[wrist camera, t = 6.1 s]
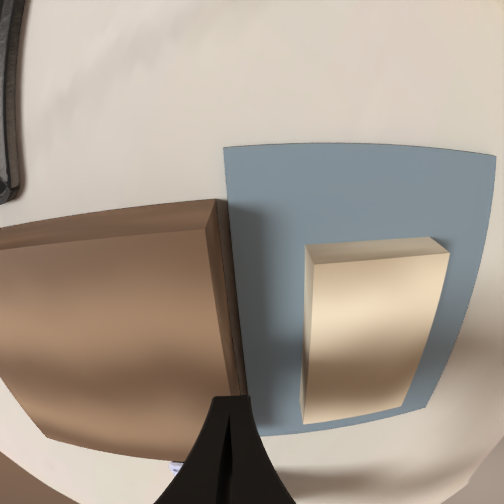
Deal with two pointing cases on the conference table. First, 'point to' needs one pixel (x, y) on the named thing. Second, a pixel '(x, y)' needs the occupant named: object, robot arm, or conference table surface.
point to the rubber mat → (344, 230)
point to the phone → (8, 97)
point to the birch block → (366, 323)
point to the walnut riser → (118, 326)
